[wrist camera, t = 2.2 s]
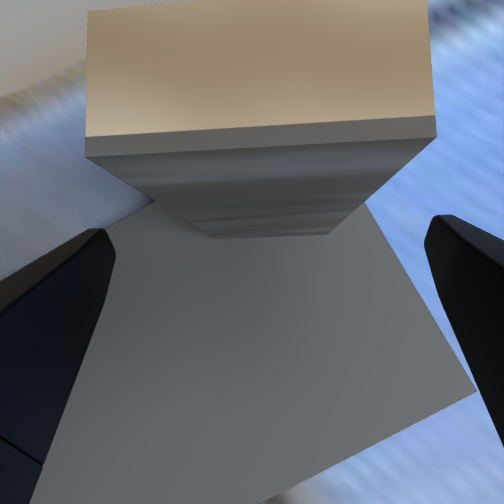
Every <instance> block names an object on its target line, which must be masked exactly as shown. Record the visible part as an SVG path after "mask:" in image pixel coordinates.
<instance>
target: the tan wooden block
mask: <svg viewBox="0 0 504 504" xmlns="http://www.w3.org/2000/svg"><path fill="white" fill-rule="evenodd" d="M87 25H88V26H87V27H88V29H87V75H86V126H85V157H86V158H87V159H89V160H91V161H92V162H94V163H95V164H97V165H99V166H100V167H102V168H103V169H105V170H107V171H108V172H110V173H111V174H113V175H115V176H116V177H118V178H119V179H121V180H123V181H124V182H126V183H127V184H129V185H130V186H132V187H134V188H135V189H137V190H138V191H140V192H142V193H143V194H145V195H146V196H148V197H150V198H151V199H153V200H154V201H156V202H158V203H159V204H161V205H162V206H164V207H166V208H167V209H169V210H170V211H172V212H174V213H175V214H177V215H178V216H180V217H182V218H183V219H185V220H186V221H188V222H190V223H191V224H193V225H194V226H196V227H198V228H199V229H201V230H202V231H204V232H206V233H207V234H209V235H210V236H212V237H214V238H215V239H226V238H255V237H284V236H313V235H328V234H329V233H330V232H331V231H332V230H333V229H334V228H335V227H337V226H338V225H339V224H340V223H341V222H342V221H343V220H344V219H346V218H347V217H348V216H349V215H350V214H351V213H352V212H353V211H355V210H356V209H357V208H358V207H359V206H360V205H361V204H362V203H363V202H365V201H366V200H367V199H368V198H369V197H370V196H371V195H372V194H374V193H375V192H376V191H377V190H378V189H379V188H380V187H381V186H382V185H384V184H385V183H386V182H387V181H388V180H389V179H390V178H391V177H393V176H394V175H395V174H396V173H397V172H398V171H399V170H400V169H402V168H403V167H404V166H405V165H406V164H407V163H408V162H409V161H410V160H412V159H413V158H414V157H415V156H416V155H417V154H418V153H419V152H421V151H422V150H423V149H424V148H425V147H426V146H427V145H428V144H430V143H431V142H432V141H433V140H434V139H435V138H436V137H437V133H436V119H435V106H434V92H433V79H432V65H431V52H430V38H429V25H428V11H427V0H203V1H192V2H182V3H171V4H160V5H151V6H140V7H129V8H118V9H108V10H98V11H88V24H87Z"/></svg>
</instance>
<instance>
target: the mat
mask: <svg viewBox="0 0 504 504" xmlns="http://www.w3.org/2000/svg"><path fill="white" fill-rule="evenodd" d="M105 230H106V231H107V233H108V235H109V237H110V239H111V242H112V244H113V246H114V248H115V251H116V260H115V264H114V268H113V272H112V276H111V280H110V284H109V288H108V292H107V296H106V300H105V303H104V306H103V309H102V311H101V314H100V317H99V319H98V322H97V325H96V327H95V330H94V333H93V335H92V338H91V341H90V343H89V346H88V349H87V351H86V354H85V357H84V359H83V362H82V365H81V367H80V370H79V373H78V375H77V378H76V381H75V383H74V386H73V389H72V391H71V394H70V397H69V399H68V402H67V405H66V407H65V410H64V413H63V415H62V418H61V421H60V423H59V426H58V429H57V431H56V434H55V437H54V439H53V442H52V444H51V447H50V450H49V452H48V455H47V458H46V460H45V463H44V464H43V469H42V472H41V474H40V477H39V480H38V482H37V485H36V488H35V490H34V493H33V496H32V498H31V501H30V504H260V503H262V502H264V501H266V500H268V499H270V498H272V497H274V496H275V495H277V494H279V493H281V492H283V491H285V490H287V489H289V488H291V487H293V486H295V485H297V484H299V483H301V482H303V481H305V480H306V479H308V478H310V477H312V476H314V475H316V474H318V473H320V472H322V471H324V470H326V469H328V468H330V467H332V466H334V465H335V464H337V463H339V462H341V461H343V460H345V459H347V458H349V457H351V456H353V455H355V454H357V453H359V452H361V451H363V450H365V449H366V448H368V447H370V446H372V445H374V444H376V443H378V442H380V441H382V440H384V439H386V438H388V437H390V436H392V435H394V434H396V433H397V432H399V431H401V430H403V429H405V428H407V427H409V426H411V425H413V424H415V423H417V422H419V421H421V420H423V419H425V418H427V417H428V416H430V415H432V414H434V413H436V412H438V411H440V410H442V409H444V408H446V407H448V406H450V405H452V404H454V403H456V402H457V401H459V400H461V399H463V398H465V397H467V396H469V395H471V394H473V393H475V392H477V390H476V388H475V386H474V385H473V383H472V381H471V380H470V378H469V376H468V375H467V373H466V371H465V370H464V368H463V366H462V365H461V363H460V361H459V360H458V358H457V356H456V355H455V353H454V351H453V350H452V348H451V346H450V345H449V343H448V341H447V340H446V338H445V336H444V335H443V333H442V331H441V330H440V328H439V326H438V325H437V323H436V321H435V320H434V318H433V316H432V315H431V313H430V311H429V310H428V308H427V306H426V304H425V303H424V301H423V299H422V298H421V296H420V294H419V293H418V291H417V289H416V288H415V286H414V284H413V283H412V281H411V279H410V278H409V276H408V274H407V273H406V271H405V269H404V268H403V266H402V264H401V263H400V261H399V259H398V258H397V256H396V254H395V253H394V251H393V249H392V248H391V246H390V244H389V243H388V241H387V239H386V238H385V236H384V234H383V233H382V231H381V229H380V228H379V226H378V224H377V223H376V221H375V219H374V218H373V216H372V214H371V212H370V211H369V209H368V207H367V206H366V204H365V202H363V203H362V204H361V205H360V206H359V207H358V208H357V209H356V210H355V211H353V212H352V213H351V214H350V215H349V216H348V217H347V218H346V219H344V220H343V221H342V222H341V223H340V224H339V225H338V226H337V227H335V228H334V229H333V230H332V231H331V232H330V233H329V234H328V235H313V236H284V237H255V238H226V239H215V238H214V237H212V236H210V235H209V234H207V233H206V232H204V231H202V230H201V229H199V228H198V227H196V226H194V225H193V224H191V223H190V222H188V221H186V220H185V219H183V218H182V217H180V216H178V215H177V214H175V213H174V212H172V211H170V210H169V209H167V208H166V207H164V206H162V205H161V204H159V203H158V202H156V201H154V202H152V203H151V204H149V205H147V206H145V207H144V208H142V209H140V210H138V211H136V212H135V213H133V214H131V215H129V216H127V217H126V218H124V219H122V220H120V221H119V222H117V223H115V224H113V225H111V226H110V227H108V228H106V229H105Z"/></svg>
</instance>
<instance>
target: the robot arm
mask: <svg viewBox="0 0 504 504" xmlns="http://www.w3.org/2000/svg"><path fill="white" fill-rule="evenodd" d="M424 248H425V252H426V255H427V259H428V262H429V265H430V269H431V272H432V276H433V279H434V283H435V286H436V290H437V293H438V296H439V298H440V301H441V303H442V306H443V308H444V310H445V312H446V315H447V317H448V319H449V322H450V324H451V326H452V329H453V331H454V333H455V336H456V338H457V340H458V343H459V345H460V347H461V349H462V352H463V354H464V356H465V359H466V361H467V363H468V366H469V368H470V370H471V373H472V375H473V377H474V380H475V382H476V384H477V387H478V389H479V391H480V393H481V396H482V398H483V400H484V403H485V405H486V407H487V410H488V412H489V414H490V417H491V419H492V421H493V424H494V426H495V428H496V430H497V433H498V435H499V437H500V440H501V442H502V444H503V447H504V240H502V239H500V238H498V237H496V236H494V235H492V234H490V233H488V232H486V231H484V230H482V229H480V228H478V227H476V226H474V225H472V224H470V223H468V222H466V221H464V220H462V219H460V218H458V217H456V216H454V215H450V214H448V215H436V216H434V217H433V218H432V220H431V223H430V226H429V229H428V231H427V234H426V237H425V241H424ZM115 260H116V251H115V248H114V246H113V244H112V242H111V239H110V237H109V235H108V233H107V231H106V230H105V229H103V228H92V229H88V230H86V231H84V232H83V233H81V234H79V235H77V236H76V237H74V238H72V239H71V240H69V241H67V242H66V243H64V244H62V245H61V246H59V247H57V248H55V249H54V250H52V251H50V252H49V253H47V254H45V255H44V256H42V257H40V258H39V259H37V260H35V261H33V262H32V263H30V264H28V265H27V266H25V267H23V268H22V269H20V270H18V271H17V272H15V273H13V274H12V275H10V276H8V277H6V278H5V279H3V280H1V281H0V504H30V501H31V498H32V496H33V493H34V490H35V488H36V485H37V482H38V480H39V477H40V474H41V472H42V469H43V464H44V463H45V460H46V458H47V455H48V452H49V450H50V447H51V444H52V442H53V439H54V437H55V434H56V431H57V429H58V426H59V423H60V421H61V418H62V415H63V413H64V410H65V407H66V405H67V402H68V399H69V397H70V394H71V391H72V389H73V386H74V383H75V381H76V378H77V375H78V373H79V370H80V367H81V365H82V362H83V359H84V357H85V354H86V351H87V349H88V346H89V343H90V341H91V338H92V335H93V333H94V330H95V327H96V325H97V322H98V319H99V317H100V314H101V311H102V309H103V306H104V303H105V300H106V296H107V292H108V288H109V284H110V280H111V276H112V272H113V268H114V264H115Z"/></svg>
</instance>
